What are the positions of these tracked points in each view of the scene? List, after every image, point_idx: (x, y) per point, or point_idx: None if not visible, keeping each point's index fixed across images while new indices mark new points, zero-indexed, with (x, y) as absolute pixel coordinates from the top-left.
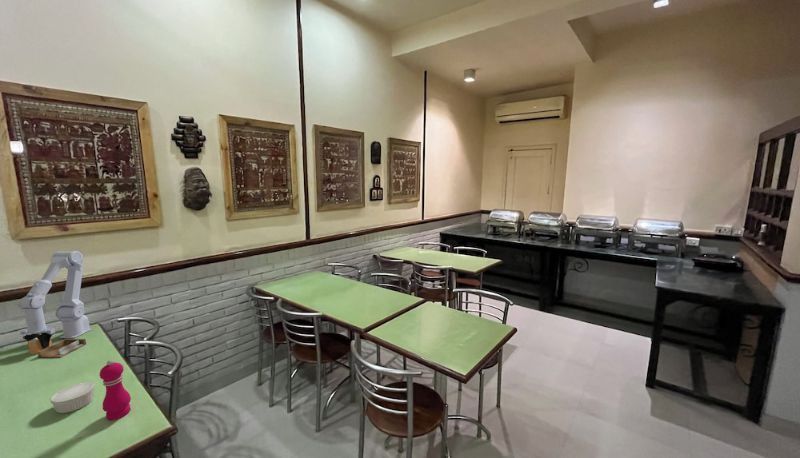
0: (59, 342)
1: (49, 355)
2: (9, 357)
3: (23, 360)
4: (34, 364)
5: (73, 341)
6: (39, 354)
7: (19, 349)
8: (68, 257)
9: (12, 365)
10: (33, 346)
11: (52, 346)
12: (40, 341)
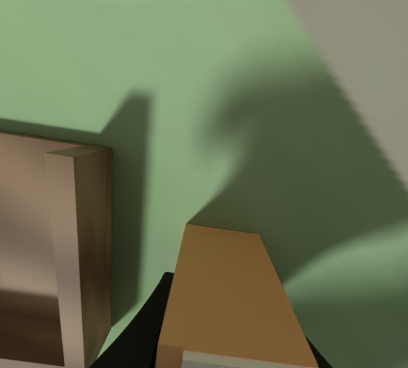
0: (67, 335)
1: (21, 156)
2: (395, 205)
3: (218, 122)
4: (17, 3)
5: (2, 339)
6: (77, 150)
7: (403, 317)
8: None
9: (241, 22)
10: (223, 282)
11: (60, 274)
12: (142, 354)
